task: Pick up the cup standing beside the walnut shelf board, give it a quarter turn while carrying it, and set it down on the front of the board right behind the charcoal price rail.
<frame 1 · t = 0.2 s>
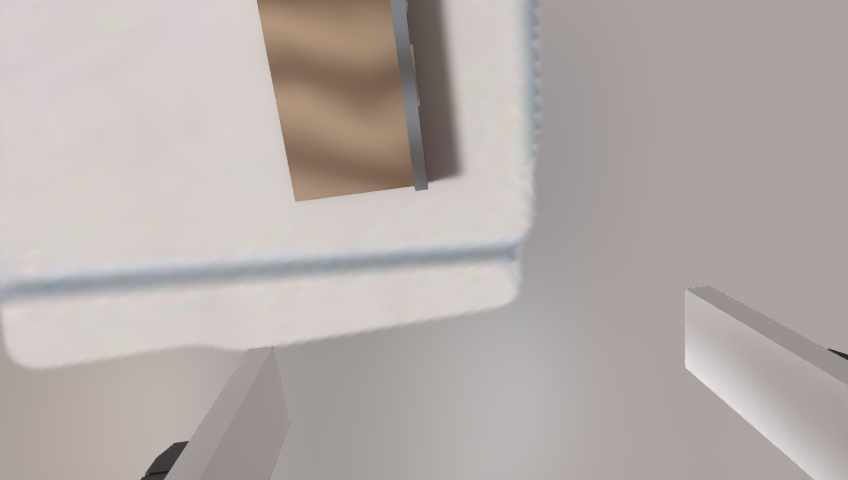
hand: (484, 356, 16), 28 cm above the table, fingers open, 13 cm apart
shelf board: (343, 75, 39), on the table
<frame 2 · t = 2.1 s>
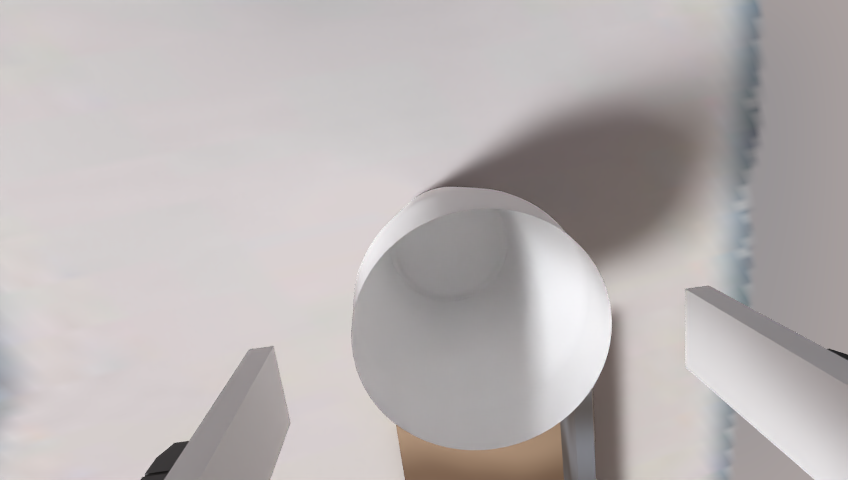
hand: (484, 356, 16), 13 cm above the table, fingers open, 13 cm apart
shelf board: (491, 472, 32), on the table
cup: (448, 243, 28), on the table
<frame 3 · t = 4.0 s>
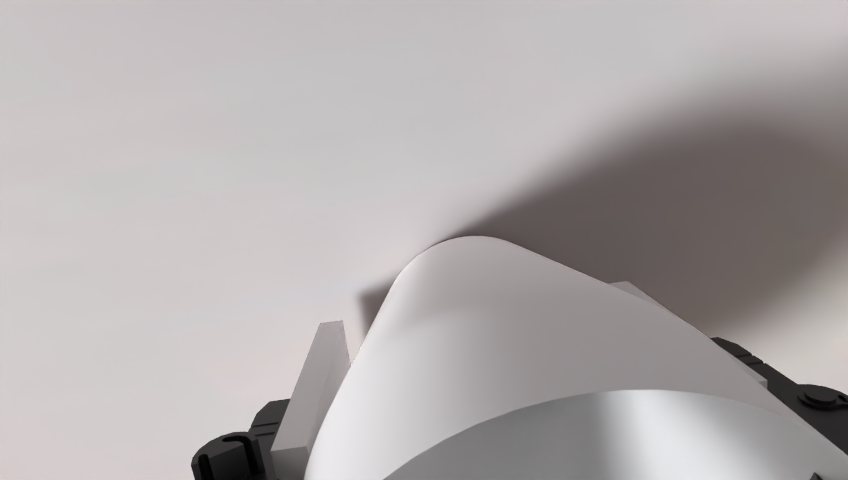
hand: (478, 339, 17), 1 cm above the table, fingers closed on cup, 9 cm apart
cup: (471, 319, 18), on the table, touching gripper
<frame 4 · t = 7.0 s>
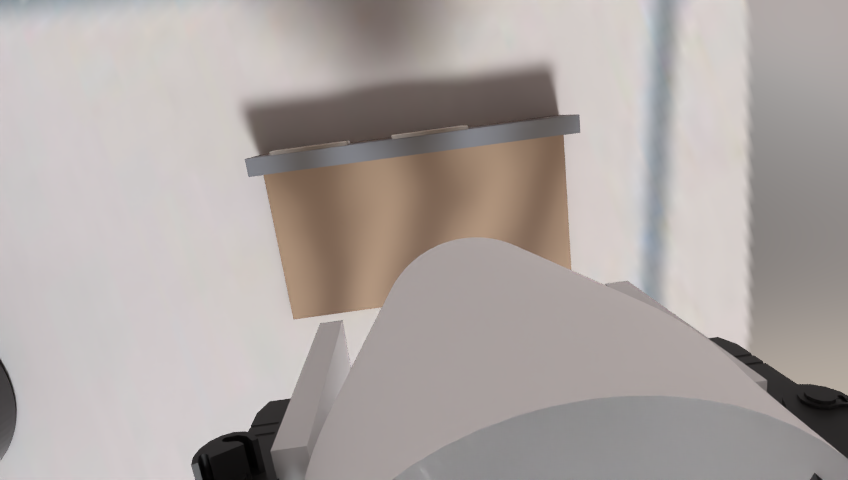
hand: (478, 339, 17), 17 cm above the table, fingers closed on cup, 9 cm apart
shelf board: (422, 219, 33), on the table
cup: (471, 321, 18), point 15 cm above the table, touching gripper
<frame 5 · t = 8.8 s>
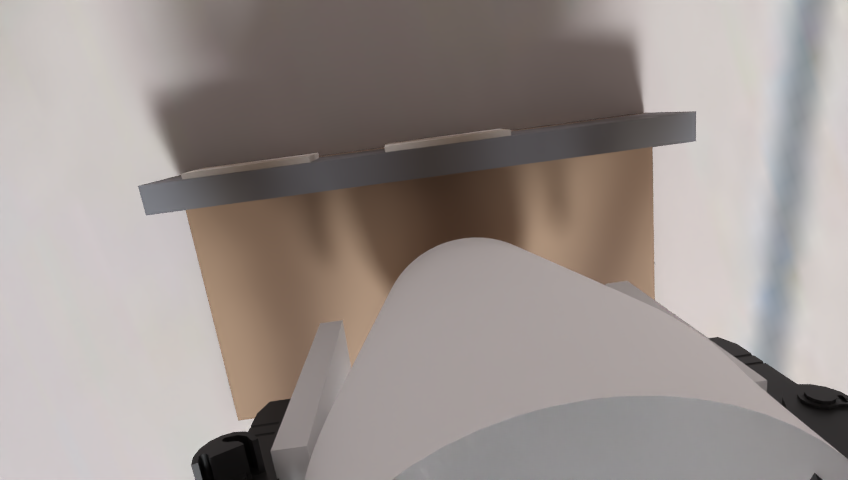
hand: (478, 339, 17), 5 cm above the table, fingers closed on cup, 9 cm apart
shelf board: (432, 270, 21), on the table
cup: (471, 321, 18), point 3 cm above the table, touching gripper
when the fingers open (4 cm above the table, at t = 10.1 s): cup drops 2 cm, resting on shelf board.
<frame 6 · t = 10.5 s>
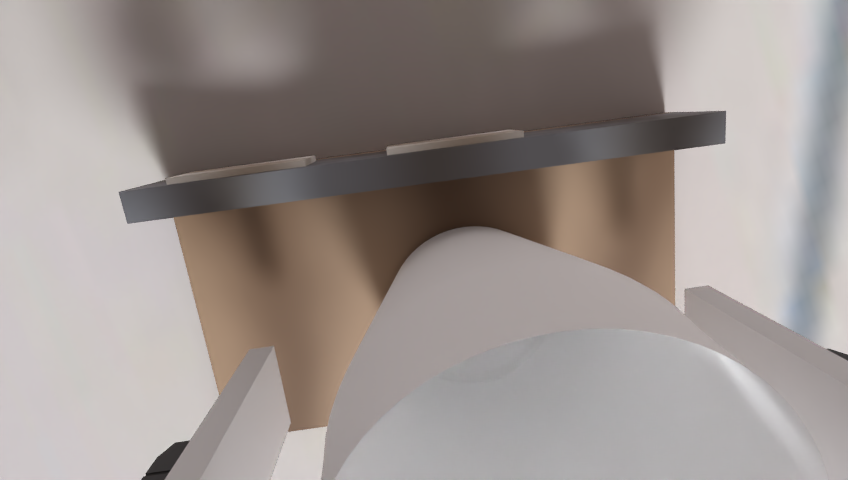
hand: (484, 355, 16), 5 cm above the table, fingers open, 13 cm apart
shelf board: (437, 281, 20), on the table
cup: (471, 304, 20), resting on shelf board
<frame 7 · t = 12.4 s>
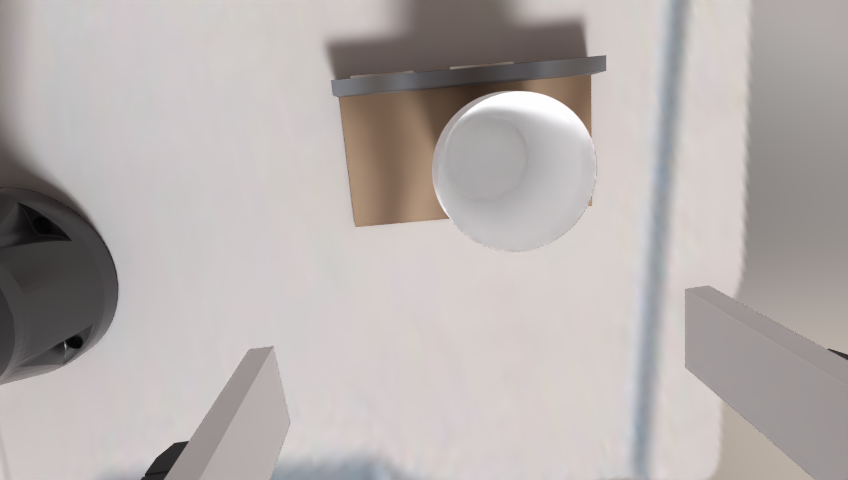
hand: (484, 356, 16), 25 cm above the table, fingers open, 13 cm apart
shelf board: (468, 146, 39), on the table
cup: (484, 158, 39), resting on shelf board
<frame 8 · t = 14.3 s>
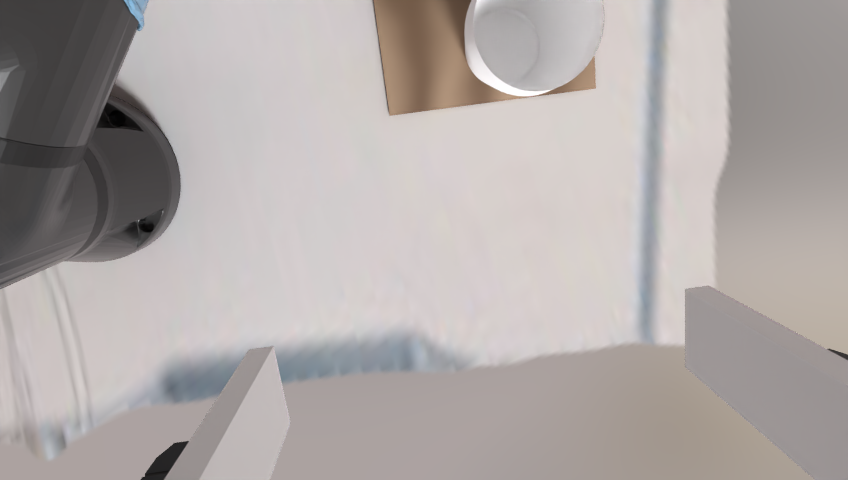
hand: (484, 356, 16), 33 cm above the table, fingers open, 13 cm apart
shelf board: (486, 38, 44), on the table
cup: (501, 48, 44), resting on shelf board
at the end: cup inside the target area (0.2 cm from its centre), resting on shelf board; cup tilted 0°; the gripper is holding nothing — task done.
